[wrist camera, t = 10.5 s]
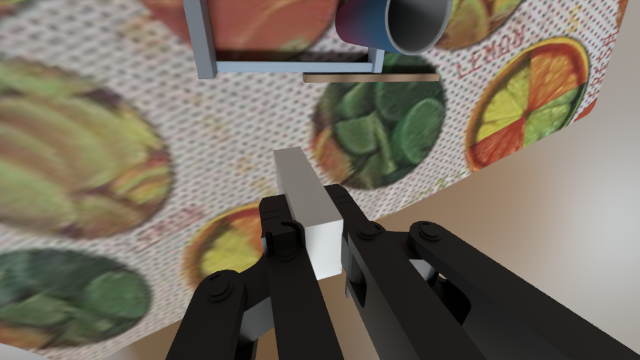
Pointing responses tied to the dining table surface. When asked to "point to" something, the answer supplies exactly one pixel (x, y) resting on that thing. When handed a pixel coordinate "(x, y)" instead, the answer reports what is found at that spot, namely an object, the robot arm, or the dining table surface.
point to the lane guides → (370, 77)
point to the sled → (210, 66)
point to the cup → (393, 24)
